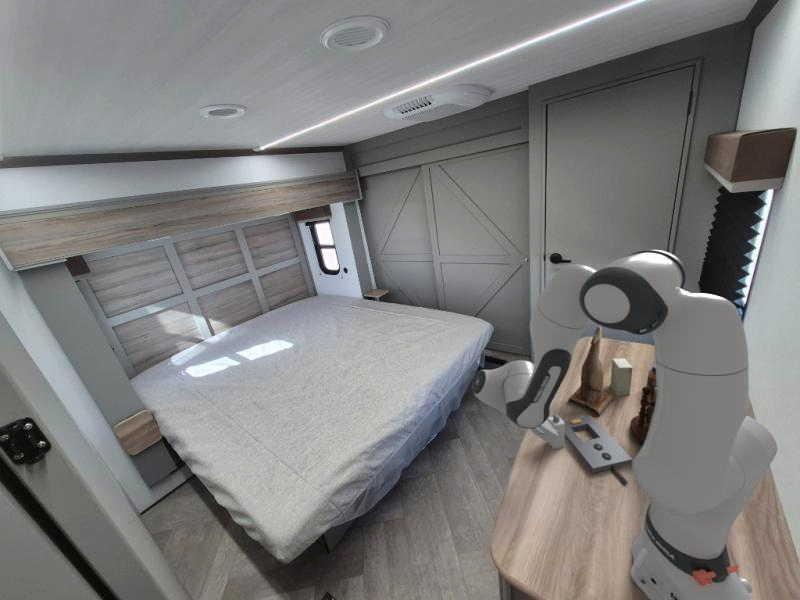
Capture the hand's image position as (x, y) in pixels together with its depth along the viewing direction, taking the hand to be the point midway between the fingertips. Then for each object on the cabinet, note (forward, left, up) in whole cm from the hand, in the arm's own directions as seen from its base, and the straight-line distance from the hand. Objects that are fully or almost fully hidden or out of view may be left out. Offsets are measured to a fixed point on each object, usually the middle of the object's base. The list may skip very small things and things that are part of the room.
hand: (548, 421), depth 96 cm
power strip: (-5, -13, -10) cm, 17 cm away
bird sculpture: (+14, -24, -10) cm, 30 cm away
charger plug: (0, -3, -10) cm, 11 cm away
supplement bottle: (+11, -48, -10) cm, 50 cm away
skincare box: (+16, -38, -10) cm, 42 cm away
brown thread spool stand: (-6, -33, -10) cm, 35 cm away
